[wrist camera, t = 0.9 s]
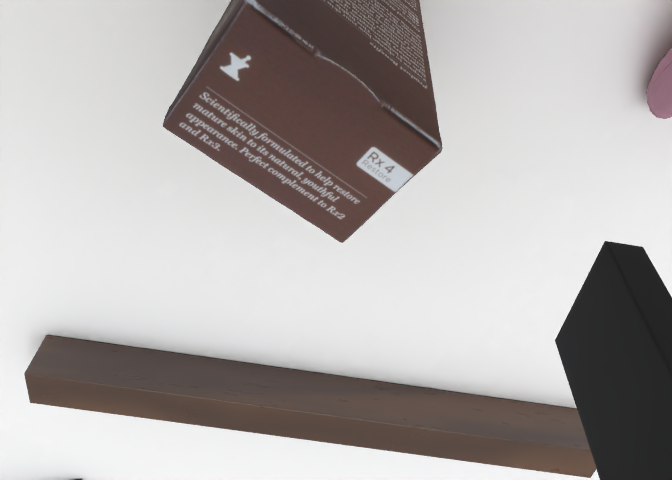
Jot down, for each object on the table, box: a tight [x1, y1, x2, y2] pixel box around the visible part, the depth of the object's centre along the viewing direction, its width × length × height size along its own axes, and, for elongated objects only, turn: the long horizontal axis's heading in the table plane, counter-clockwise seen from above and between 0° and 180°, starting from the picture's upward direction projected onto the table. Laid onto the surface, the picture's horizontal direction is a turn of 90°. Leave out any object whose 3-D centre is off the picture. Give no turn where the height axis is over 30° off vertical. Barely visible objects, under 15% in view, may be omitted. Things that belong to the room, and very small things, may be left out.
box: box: [163, 0, 442, 243], centre depth 21 cm, size 6×4×12 cm
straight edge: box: [24, 335, 597, 478], centre depth 38 cm, size 2×33×3 cm, turn 81°
